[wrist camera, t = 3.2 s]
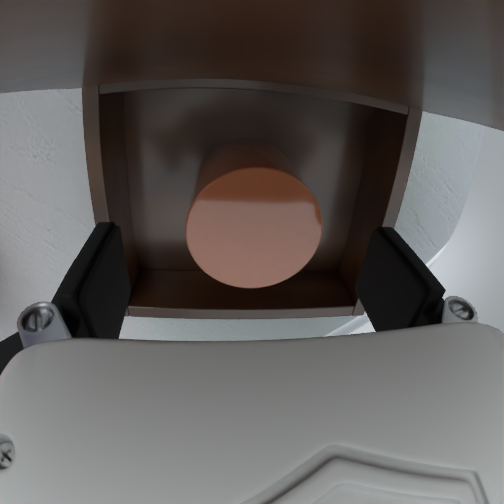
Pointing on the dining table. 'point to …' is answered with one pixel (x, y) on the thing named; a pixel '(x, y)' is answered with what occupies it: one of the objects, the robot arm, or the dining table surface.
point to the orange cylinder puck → (251, 216)
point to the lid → (268, 47)
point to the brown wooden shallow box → (214, 135)
